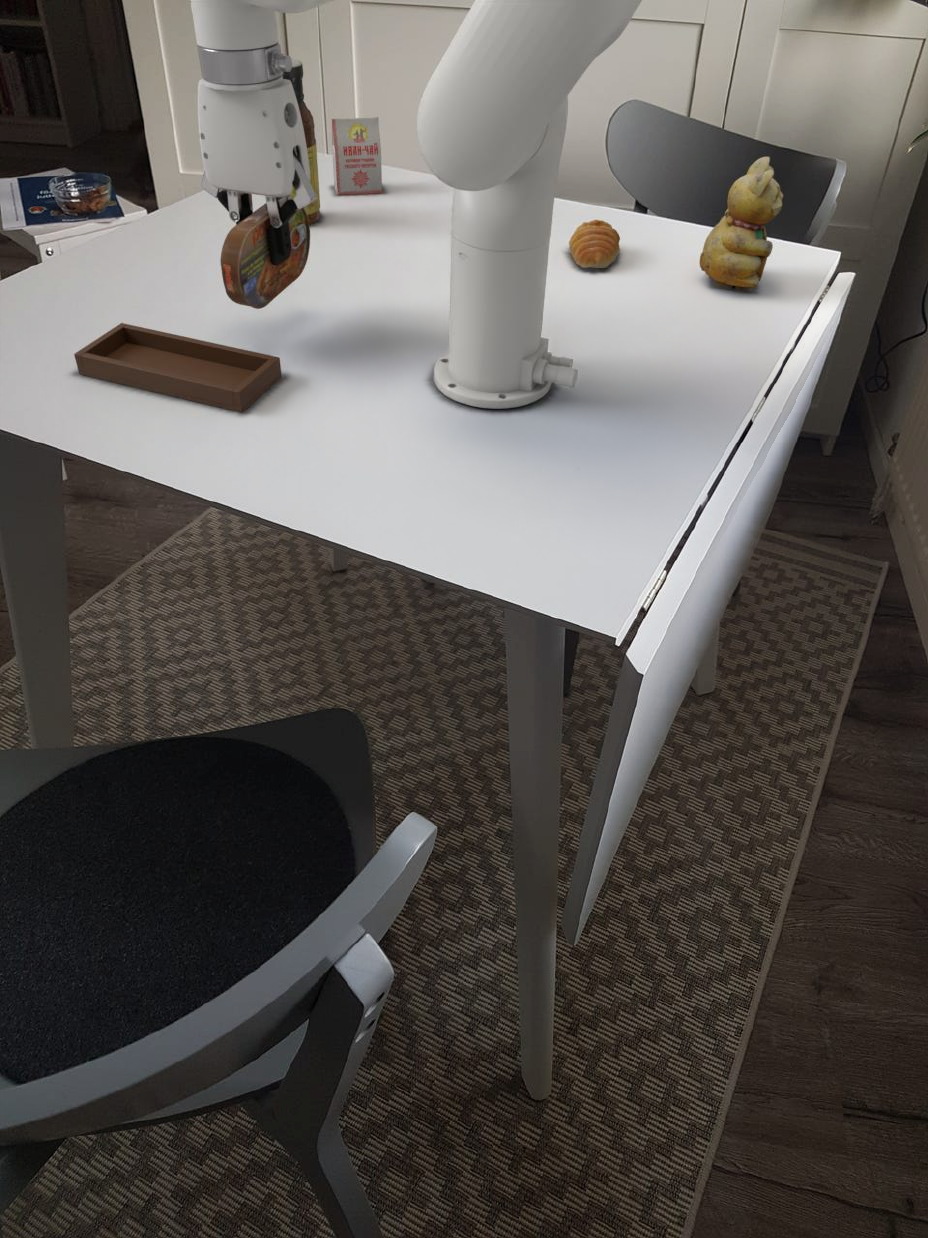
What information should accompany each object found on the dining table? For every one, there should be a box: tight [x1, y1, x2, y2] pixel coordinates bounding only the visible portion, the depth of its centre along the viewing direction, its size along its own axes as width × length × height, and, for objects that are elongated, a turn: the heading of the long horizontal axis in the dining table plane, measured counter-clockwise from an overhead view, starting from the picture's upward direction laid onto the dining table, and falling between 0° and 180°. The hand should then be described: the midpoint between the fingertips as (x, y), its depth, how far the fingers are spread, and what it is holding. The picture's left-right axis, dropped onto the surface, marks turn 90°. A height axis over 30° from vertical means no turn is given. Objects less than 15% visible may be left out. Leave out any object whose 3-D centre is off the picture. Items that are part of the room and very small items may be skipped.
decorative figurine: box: [699, 156, 784, 293], centre depth 118 cm, size 10×8×15 cm
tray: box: [73, 322, 283, 413], centre depth 100 cm, size 20×8×2 cm, turn 69°
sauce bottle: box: [282, 58, 321, 225], centre depth 129 cm, size 7×6×20 cm
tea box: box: [331, 116, 383, 196], centre depth 142 cm, size 4×7×10 cm, turn 103°
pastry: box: [568, 219, 621, 269], centre depth 127 cm, size 9×7×4 cm
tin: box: [220, 202, 311, 310], centre depth 102 cm, size 15×3×8 cm, turn 159°
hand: (266, 257), depth 103 cm, fingers closed on tin, 2 cm apart
